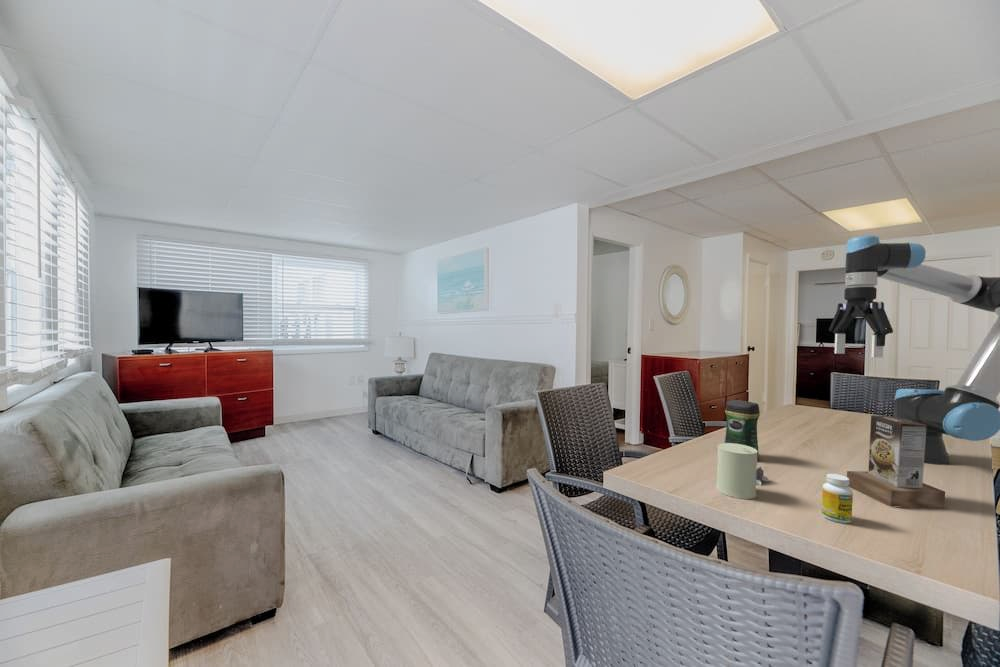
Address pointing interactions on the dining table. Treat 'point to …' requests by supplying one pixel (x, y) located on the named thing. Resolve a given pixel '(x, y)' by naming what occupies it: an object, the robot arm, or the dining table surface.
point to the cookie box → (897, 451)
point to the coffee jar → (742, 423)
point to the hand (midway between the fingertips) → (857, 355)
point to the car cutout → (760, 476)
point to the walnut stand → (896, 492)
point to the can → (736, 470)
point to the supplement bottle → (837, 499)
